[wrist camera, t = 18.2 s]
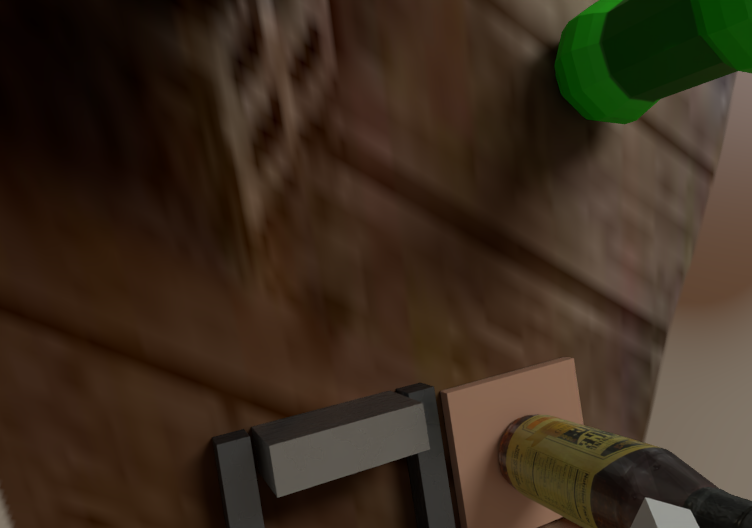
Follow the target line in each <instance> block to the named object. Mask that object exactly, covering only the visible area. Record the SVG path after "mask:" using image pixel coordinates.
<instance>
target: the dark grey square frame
mask: <svg viewBox="0 0 752 528" xmlns="http://www.w3.org/2000/svg"><path fill="white" fill-rule="evenodd" d="M396 392H397V393H395V392H392V391H387V392H383V393H379V394H375V395H371V396H368V397H364V398H360V399H356V400H352V401H349V402H345V403H341V404H337V405H333V406H330V407H326V408H322V409H318V410H314V411H311V412H307V413H303V414H299V415H295V416H292V417H288V418H284V419H280V420H276V421H273V422H269V423H265V424H261V425H257V426H254V427H251V428H252V434H253V440H254V447H255V453H256V459H257V465H258V472H259V474H260V475H261V476H262V478H263V479H264V480H265V482H266V483H267V484H268V486H269V487H270V488H271V490H272V491H273V493H274V494H275V495H276V497H277V498H278V497H282V496H285V495H288V494H291V493H294V492H297V491H300V490H304V489H307V488H310V487H313V486H316V485H319V484H322V483H326V482H329V481H332V480H335V479H338V478H341V477H344V476H348V475H351V474H354V473H357V472H360V471H363V470H366V469H370V468H373V467H376V466H379V465H382V464H385V463H388V462H392V461H395V460H398V459H401V458H404V457H407V463H408V469H409V476H410V482H411V488H412V495H413V501H414V508H415V514H416V521H417V527H418V528H455V521H454V515H453V508H452V502H451V495H450V489H449V482H448V476H447V469H446V463H445V456H444V450H443V443H442V437H441V430H440V424H439V417H438V411H437V404H436V398H435V391H434V387H433V386H430V385H427V384H423V383H417V384H413V385H409V386H406V387H402V388H398V389H396ZM212 441H213V447H214V453H215V459H216V466H217V472H218V478H219V484H220V490H221V497H222V503H223V509H224V515H225V521H226V528H264V521H263V515H262V509H261V503H260V496H259V490H258V484H257V478H256V471H255V465H254V459H253V453H252V446H251V440H250V436H249V435H248V434H247V432H246V431H245V430H244V429H242V430H238V431H235V432H231V433H227V434H223V435H219V436H216V437H212Z"/></svg>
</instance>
